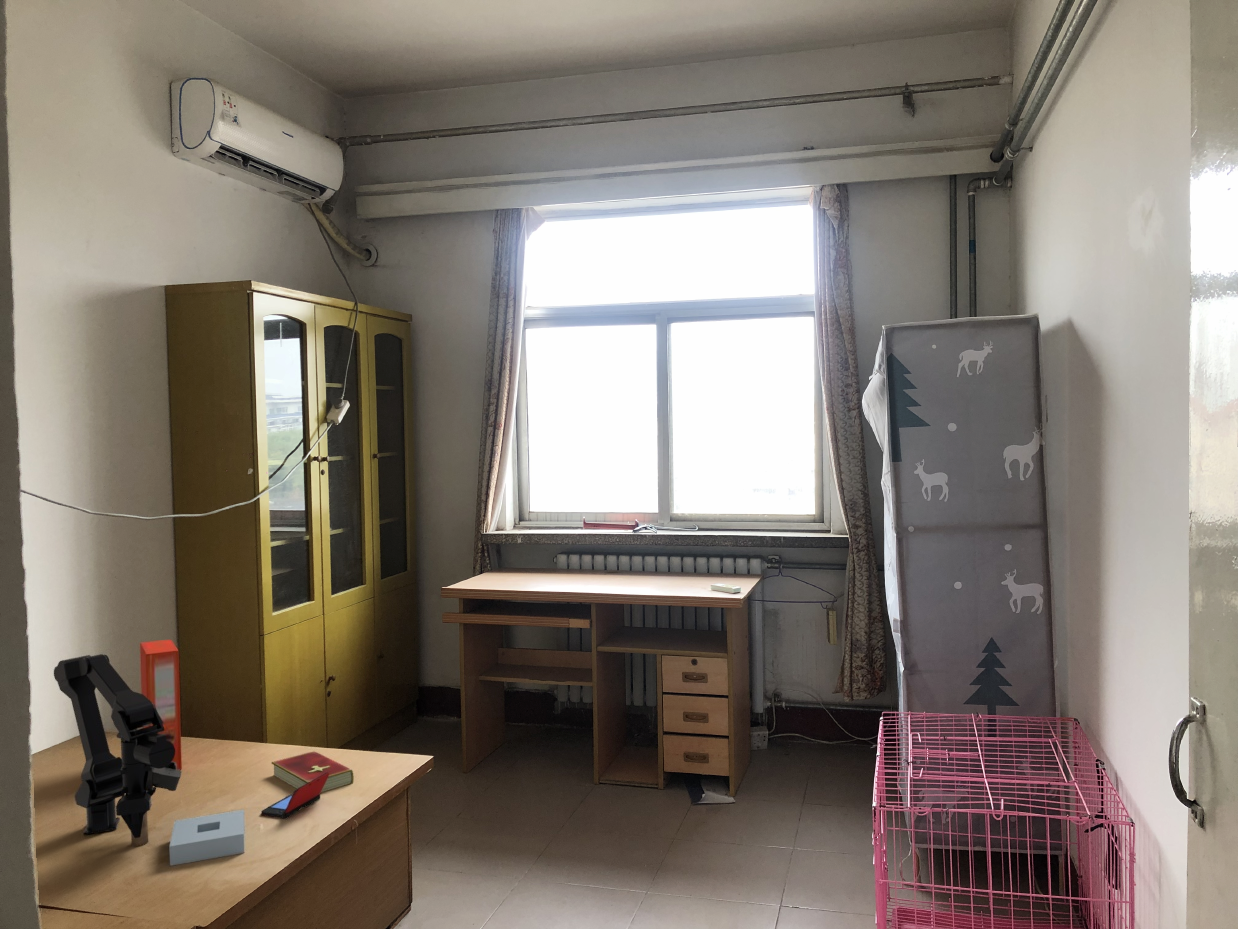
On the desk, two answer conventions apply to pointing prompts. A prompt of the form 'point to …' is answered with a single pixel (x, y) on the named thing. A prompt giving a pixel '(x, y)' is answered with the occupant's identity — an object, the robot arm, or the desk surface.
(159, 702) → the file binder
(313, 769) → the hardcover book
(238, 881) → the desk surface
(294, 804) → the handheld game console
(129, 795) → the robot arm
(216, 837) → the socket block
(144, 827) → the peg
